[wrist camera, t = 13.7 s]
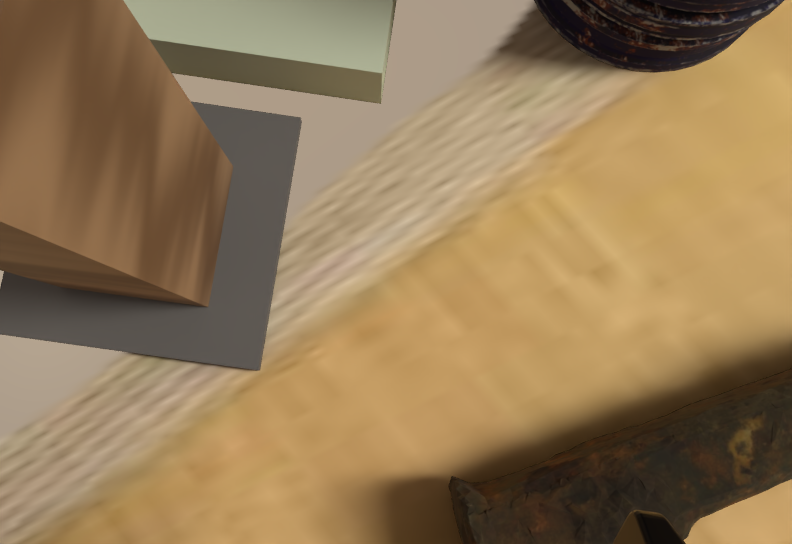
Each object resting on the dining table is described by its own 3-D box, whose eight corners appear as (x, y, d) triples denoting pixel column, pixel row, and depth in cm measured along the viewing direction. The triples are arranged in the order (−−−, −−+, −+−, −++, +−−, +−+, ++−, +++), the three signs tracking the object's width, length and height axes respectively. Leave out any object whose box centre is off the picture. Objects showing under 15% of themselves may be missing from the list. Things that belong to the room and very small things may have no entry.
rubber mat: (259, 370, 23) (257, 370, 22) (-4, 333, 23) (-10, 332, 22) (301, 121, 24) (300, 117, 24) (53, 85, 24) (48, 80, 24)
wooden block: (208, 307, 23) (-45, 202, 9) (61, 287, 23) (-427, 150, 9) (233, 166, 23) (36, -133, 10) (91, 146, 23) (-314, -184, 10)
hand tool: (475, 593, 22) (504, 653, 18) (437, 476, 23) (455, 503, 18) (972, 413, 24) (1117, 424, 19) (927, 306, 24) (1057, 292, 20)
